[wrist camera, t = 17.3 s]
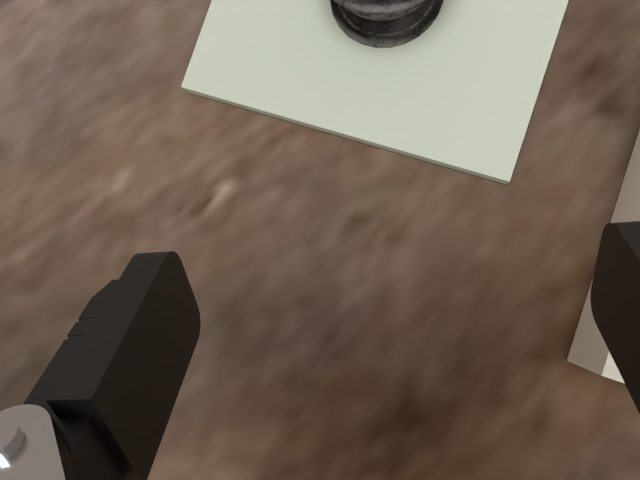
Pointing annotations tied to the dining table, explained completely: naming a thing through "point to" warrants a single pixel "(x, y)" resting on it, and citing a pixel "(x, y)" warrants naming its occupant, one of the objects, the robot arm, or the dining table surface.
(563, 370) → the dining table surface
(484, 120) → the mat
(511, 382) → the dining table surface
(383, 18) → the grey chess piece
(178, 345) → the robot arm
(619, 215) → the holder
